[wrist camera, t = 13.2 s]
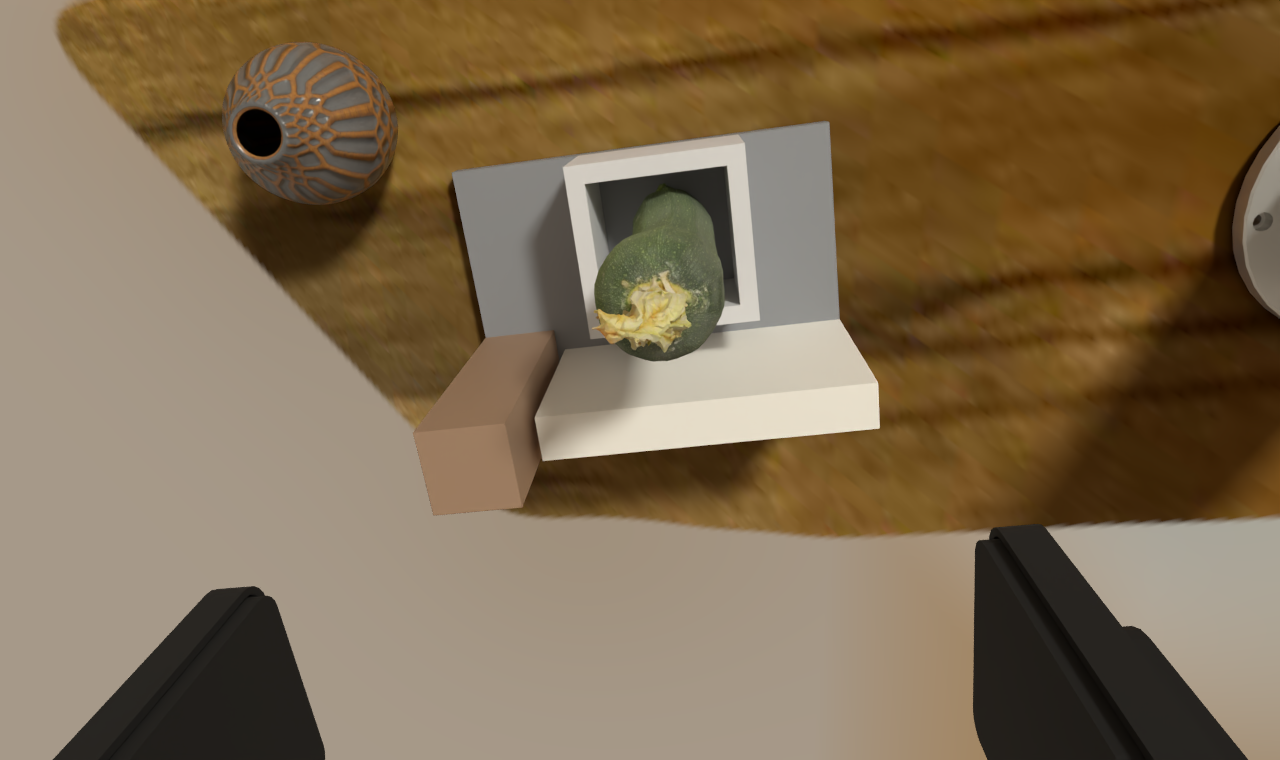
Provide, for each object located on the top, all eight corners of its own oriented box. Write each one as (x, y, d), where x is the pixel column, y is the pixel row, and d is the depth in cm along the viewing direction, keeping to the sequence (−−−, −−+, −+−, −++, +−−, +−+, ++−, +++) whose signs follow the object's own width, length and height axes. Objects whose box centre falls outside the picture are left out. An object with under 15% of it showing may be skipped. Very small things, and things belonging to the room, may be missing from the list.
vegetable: (732, 225, 40) (773, 363, 21) (668, 286, 41) (653, 468, 22) (668, 158, 39) (651, 241, 20) (604, 223, 40) (534, 358, 21)
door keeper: (825, 120, 39) (887, 143, 27) (838, 359, 43) (897, 473, 31) (457, 170, 41) (358, 212, 28) (502, 394, 45) (433, 515, 33)
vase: (252, 69, 40) (137, 68, 31) (383, 25, 39) (300, 12, 30) (310, 209, 42) (218, 242, 34) (436, 170, 41) (372, 195, 33)
